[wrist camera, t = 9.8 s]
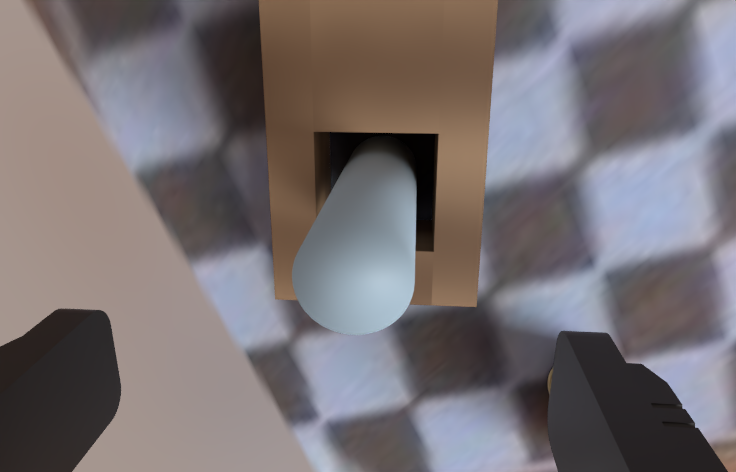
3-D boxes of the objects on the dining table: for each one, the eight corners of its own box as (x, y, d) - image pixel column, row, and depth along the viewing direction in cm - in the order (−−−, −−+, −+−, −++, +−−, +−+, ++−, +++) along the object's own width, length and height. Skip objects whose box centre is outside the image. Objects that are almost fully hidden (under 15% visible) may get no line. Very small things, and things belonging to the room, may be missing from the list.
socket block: (275, -197, 21) (245, -245, 18) (498, -203, 21) (516, -255, 17) (295, 262, 27) (275, 299, 24) (468, 268, 27) (476, 306, 23)
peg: (347, 134, 25) (289, 219, 14) (418, 135, 25) (416, 223, 14) (348, 202, 26) (294, 332, 15) (416, 203, 26) (412, 337, 15)
